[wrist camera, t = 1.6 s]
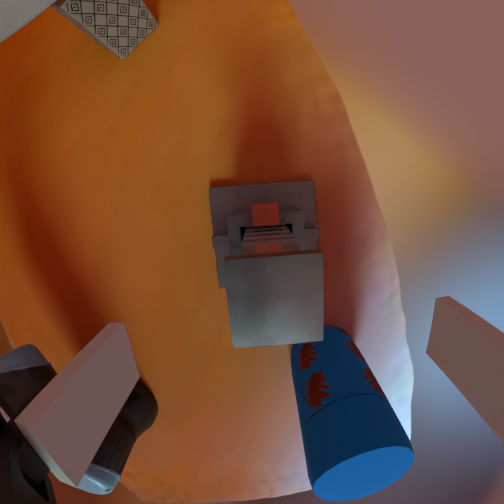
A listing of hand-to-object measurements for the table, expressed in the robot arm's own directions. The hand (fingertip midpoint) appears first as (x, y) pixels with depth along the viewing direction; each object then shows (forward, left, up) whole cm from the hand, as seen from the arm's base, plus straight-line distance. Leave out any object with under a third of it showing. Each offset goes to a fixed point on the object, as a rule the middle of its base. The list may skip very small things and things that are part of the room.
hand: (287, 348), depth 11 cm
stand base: (0, 0, -30) cm, 30 cm away
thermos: (+8, -20, -30) cm, 37 cm away
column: (0, 0, -28) cm, 28 cm away
